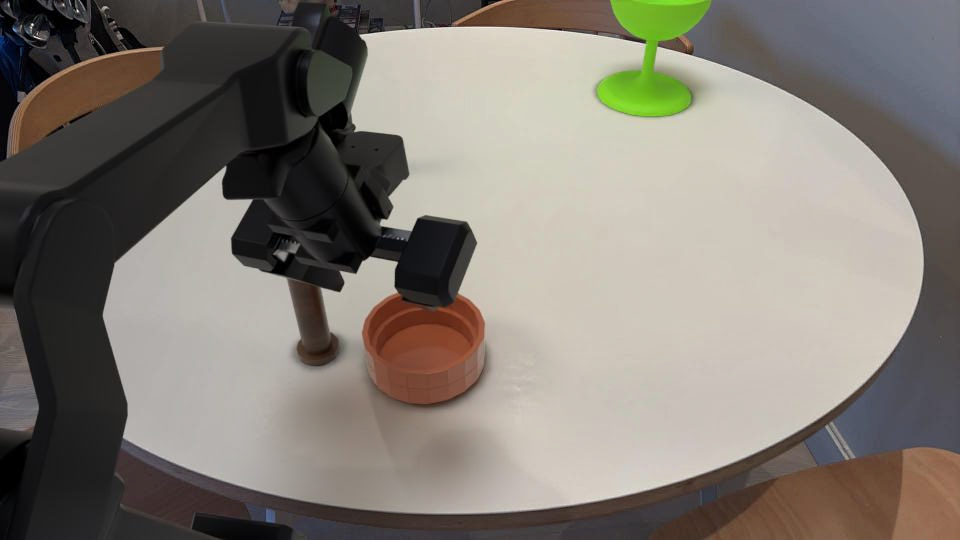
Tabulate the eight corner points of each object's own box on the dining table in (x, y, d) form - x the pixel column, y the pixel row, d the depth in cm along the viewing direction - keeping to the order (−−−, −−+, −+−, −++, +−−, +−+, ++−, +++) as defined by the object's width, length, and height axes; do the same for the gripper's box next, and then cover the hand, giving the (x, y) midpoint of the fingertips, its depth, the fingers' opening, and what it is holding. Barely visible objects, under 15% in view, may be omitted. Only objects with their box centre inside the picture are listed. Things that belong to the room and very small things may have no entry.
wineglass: (710, 106, 117) (736, -4, 105) (628, 124, 112) (645, 11, 100) (656, 68, 128) (674, -35, 116) (580, 83, 123) (590, -23, 112)
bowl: (431, 428, 67) (428, 394, 63) (343, 368, 72) (336, 334, 69) (507, 354, 74) (509, 320, 71) (422, 305, 80) (419, 272, 77)
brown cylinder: (316, 372, 72) (295, 277, 64) (289, 352, 74) (264, 258, 66) (348, 348, 75) (331, 253, 66) (320, 329, 77) (300, 236, 68)
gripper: (475, 107, 47) (518, 235, 60) (251, 86, 53) (333, 205, 66) (415, 246, 42) (475, 352, 55) (177, 203, 48) (281, 307, 61)
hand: (387, 296), depth 59 cm, fingers open, 9 cm apart
